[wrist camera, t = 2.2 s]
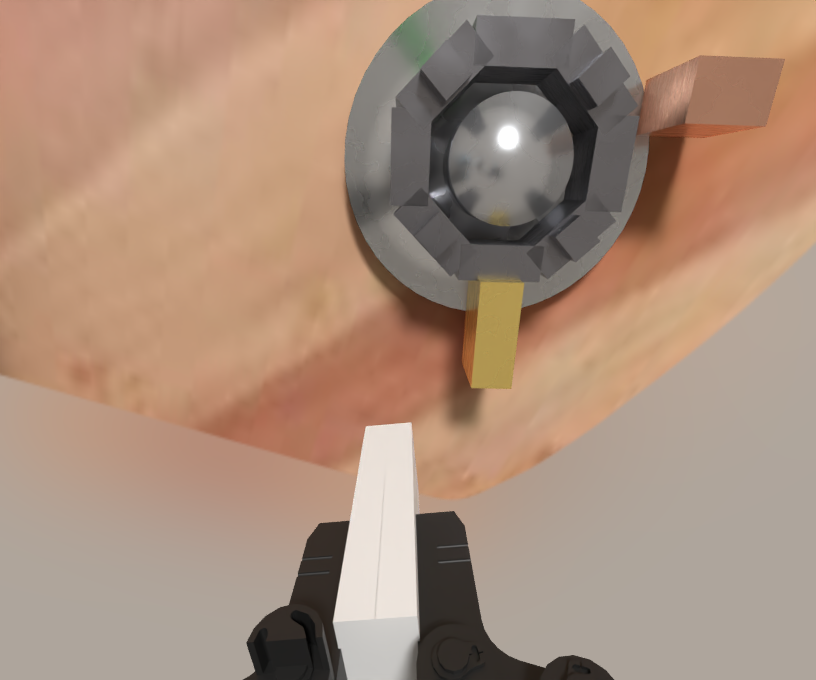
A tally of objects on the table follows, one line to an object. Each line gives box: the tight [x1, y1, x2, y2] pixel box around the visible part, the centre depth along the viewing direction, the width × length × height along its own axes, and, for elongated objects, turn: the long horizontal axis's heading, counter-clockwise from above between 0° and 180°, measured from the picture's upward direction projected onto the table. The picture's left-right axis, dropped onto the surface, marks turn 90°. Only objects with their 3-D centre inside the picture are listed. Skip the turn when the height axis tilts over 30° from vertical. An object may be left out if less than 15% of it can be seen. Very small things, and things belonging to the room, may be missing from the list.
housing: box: [345, 0, 785, 311], centre depth 23 cm, size 21×18×6 cm
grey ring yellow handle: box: [390, 15, 640, 389], centre depth 23 cm, size 19×12×4 cm, turn 178°
